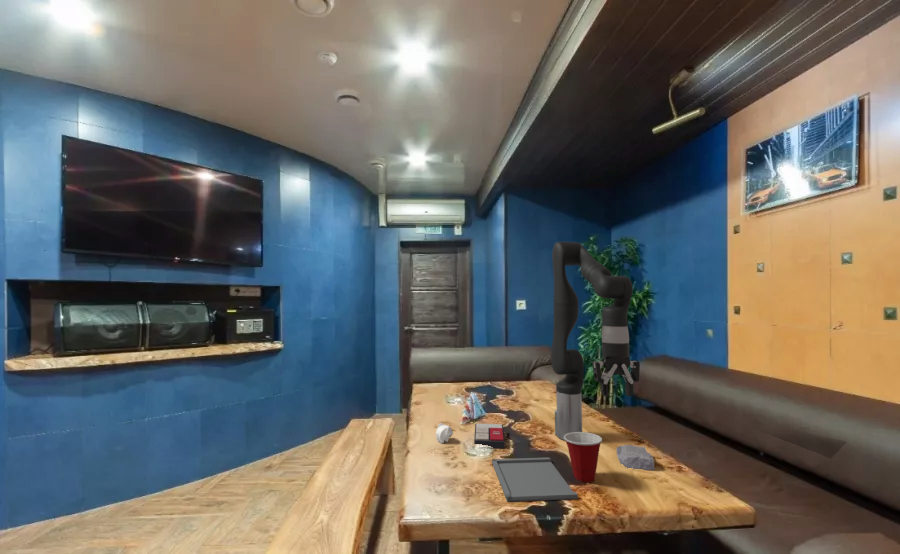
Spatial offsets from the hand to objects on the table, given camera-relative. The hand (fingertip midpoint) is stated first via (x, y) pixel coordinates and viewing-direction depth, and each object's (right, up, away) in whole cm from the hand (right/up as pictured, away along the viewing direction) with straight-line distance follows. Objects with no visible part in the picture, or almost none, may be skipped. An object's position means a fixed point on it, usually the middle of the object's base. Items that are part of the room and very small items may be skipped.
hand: (616, 395), depth 108 cm
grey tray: (-27, -24, -3) cm, 36 cm away
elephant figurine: (-53, -26, +25) cm, 64 cm away
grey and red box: (-36, -26, +26) cm, 52 cm away
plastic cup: (-11, -24, -2) cm, 26 cm away
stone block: (+9, -25, +8) cm, 28 cm away
